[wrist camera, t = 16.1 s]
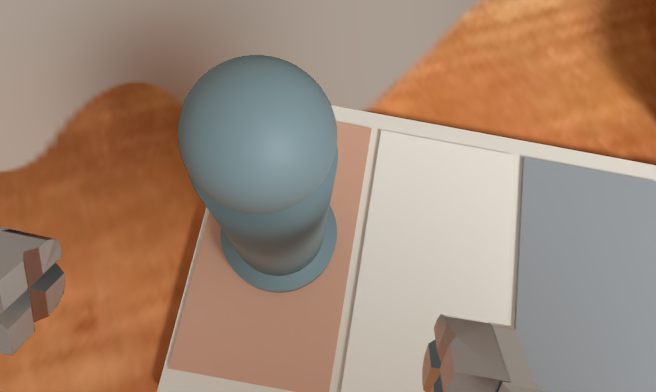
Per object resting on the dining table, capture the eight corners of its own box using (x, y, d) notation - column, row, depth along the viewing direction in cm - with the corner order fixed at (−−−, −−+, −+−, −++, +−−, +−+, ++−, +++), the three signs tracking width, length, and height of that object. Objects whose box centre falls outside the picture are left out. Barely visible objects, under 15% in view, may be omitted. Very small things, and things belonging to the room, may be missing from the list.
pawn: (325, 302, 21) (357, 242, 9) (212, 281, 21) (85, 193, 9) (343, 195, 23) (392, 15, 10) (238, 176, 23) (162, -26, 10)
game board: (858, 517, 21) (885, 526, 20) (161, 389, 21) (155, 392, 20) (810, 201, 26) (830, 196, 25) (239, 95, 26) (237, 86, 25)
